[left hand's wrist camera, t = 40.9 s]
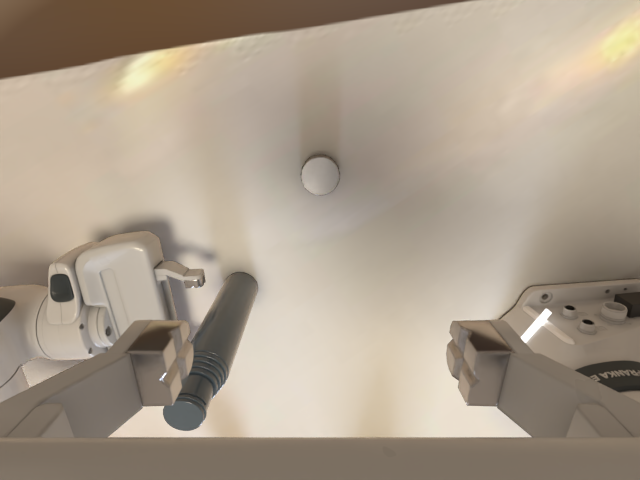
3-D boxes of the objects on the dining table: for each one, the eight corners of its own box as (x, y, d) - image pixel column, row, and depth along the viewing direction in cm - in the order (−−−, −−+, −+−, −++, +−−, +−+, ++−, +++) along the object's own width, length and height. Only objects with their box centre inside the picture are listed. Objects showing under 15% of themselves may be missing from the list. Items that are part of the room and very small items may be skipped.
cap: (335, 193, 40) (336, 198, 38) (299, 188, 40) (298, 193, 38) (341, 156, 39) (342, 159, 37) (303, 151, 39) (303, 154, 36)
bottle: (231, 266, 44) (163, 385, 25) (263, 280, 44) (220, 406, 25) (219, 294, 45) (146, 426, 26) (250, 306, 46) (201, 444, 27)
